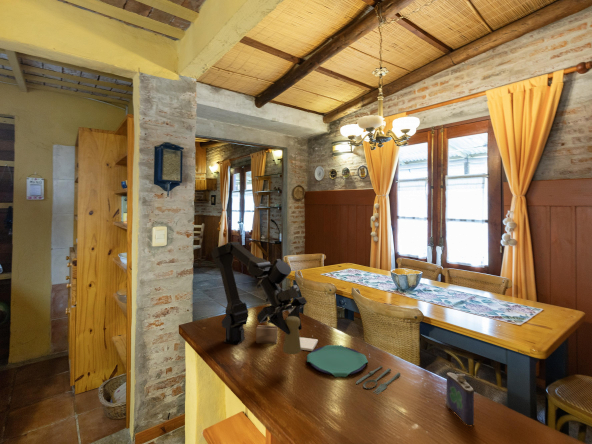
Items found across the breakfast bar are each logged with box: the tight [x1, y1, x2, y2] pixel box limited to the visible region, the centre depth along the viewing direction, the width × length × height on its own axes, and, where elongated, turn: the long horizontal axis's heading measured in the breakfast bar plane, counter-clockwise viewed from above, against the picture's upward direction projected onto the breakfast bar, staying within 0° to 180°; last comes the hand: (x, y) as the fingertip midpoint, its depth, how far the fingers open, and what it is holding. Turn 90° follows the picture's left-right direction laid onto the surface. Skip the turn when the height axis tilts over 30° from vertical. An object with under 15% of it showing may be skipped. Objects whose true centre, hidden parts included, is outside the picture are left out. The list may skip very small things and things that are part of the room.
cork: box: [282, 316, 302, 355], centre depth 102 cm, size 6×6×11 cm
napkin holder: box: [255, 324, 278, 345], centre depth 124 cm, size 8×3×6 cm, turn 83°
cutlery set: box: [306, 344, 401, 395], centre depth 104 cm, size 20×30×2 cm, turn 44°
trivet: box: [299, 336, 319, 352], centre depth 122 cm, size 9×9×1 cm
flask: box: [445, 372, 475, 426], centre depth 80 cm, size 9×3×11 cm, turn 8°
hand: (295, 331), depth 101 cm, fingers closed on cork, 5 cm apart
